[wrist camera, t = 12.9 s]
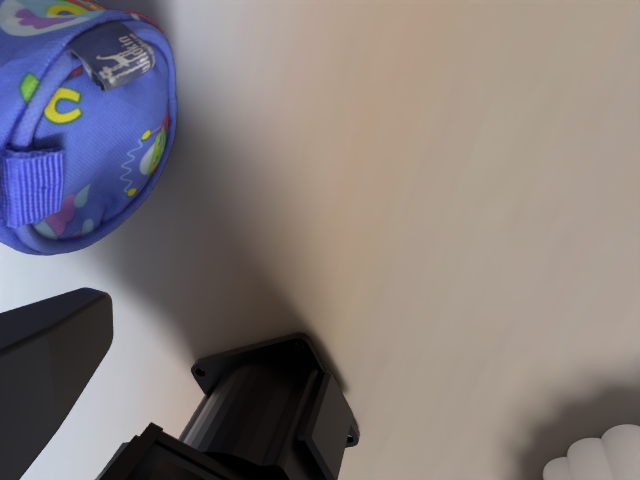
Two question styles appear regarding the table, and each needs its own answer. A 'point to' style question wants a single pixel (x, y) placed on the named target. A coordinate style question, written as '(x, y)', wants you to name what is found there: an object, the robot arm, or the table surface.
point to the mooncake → (600, 457)
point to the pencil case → (79, 120)
